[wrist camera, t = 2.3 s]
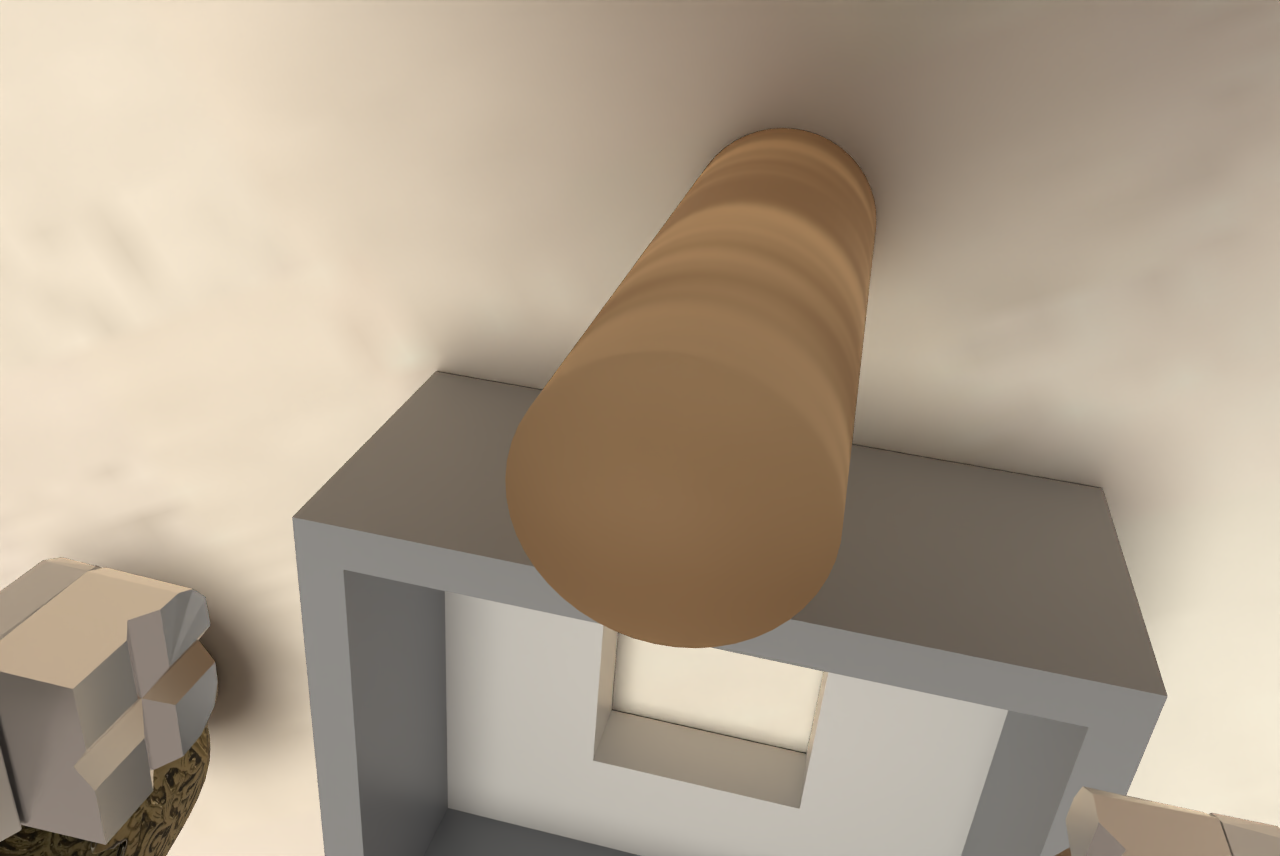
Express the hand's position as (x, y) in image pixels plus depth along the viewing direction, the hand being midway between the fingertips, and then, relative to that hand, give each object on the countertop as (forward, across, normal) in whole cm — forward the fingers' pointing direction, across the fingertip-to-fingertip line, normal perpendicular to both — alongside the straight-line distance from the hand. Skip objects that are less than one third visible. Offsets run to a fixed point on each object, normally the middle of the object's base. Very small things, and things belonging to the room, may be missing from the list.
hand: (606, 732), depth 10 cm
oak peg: (+15, 0, -1) cm, 15 cm away
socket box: (+15, 0, +11) cm, 19 cm away
